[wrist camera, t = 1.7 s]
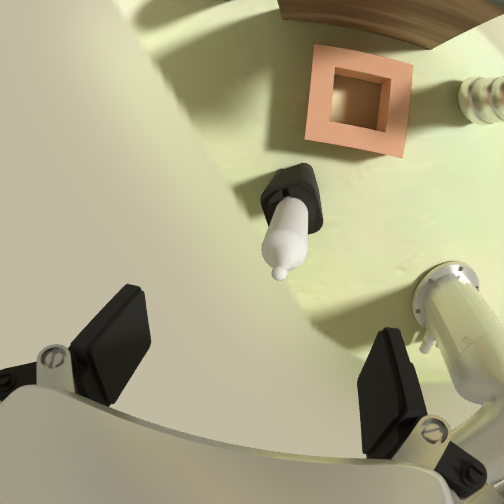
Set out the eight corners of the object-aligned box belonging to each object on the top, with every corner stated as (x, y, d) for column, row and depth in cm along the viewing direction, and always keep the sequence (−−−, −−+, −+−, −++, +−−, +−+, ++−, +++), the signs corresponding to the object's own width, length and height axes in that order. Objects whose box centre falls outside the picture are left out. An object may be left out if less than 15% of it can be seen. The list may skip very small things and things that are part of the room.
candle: (284, 207, 40) (249, 322, 18) (272, 171, 38) (218, 245, 16) (321, 197, 38) (334, 306, 16) (310, 160, 37) (313, 220, 14)
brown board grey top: (436, 77, 28) (572, 49, 5) (272, 44, 31) (210, -65, 8) (437, 39, 26) (557, -19, 2) (276, 6, 29) (224, -120, 5)
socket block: (391, 153, 34) (402, 158, 30) (304, 137, 36) (304, 139, 31) (400, 71, 29) (412, 65, 25) (313, 53, 31) (314, 43, 26)
